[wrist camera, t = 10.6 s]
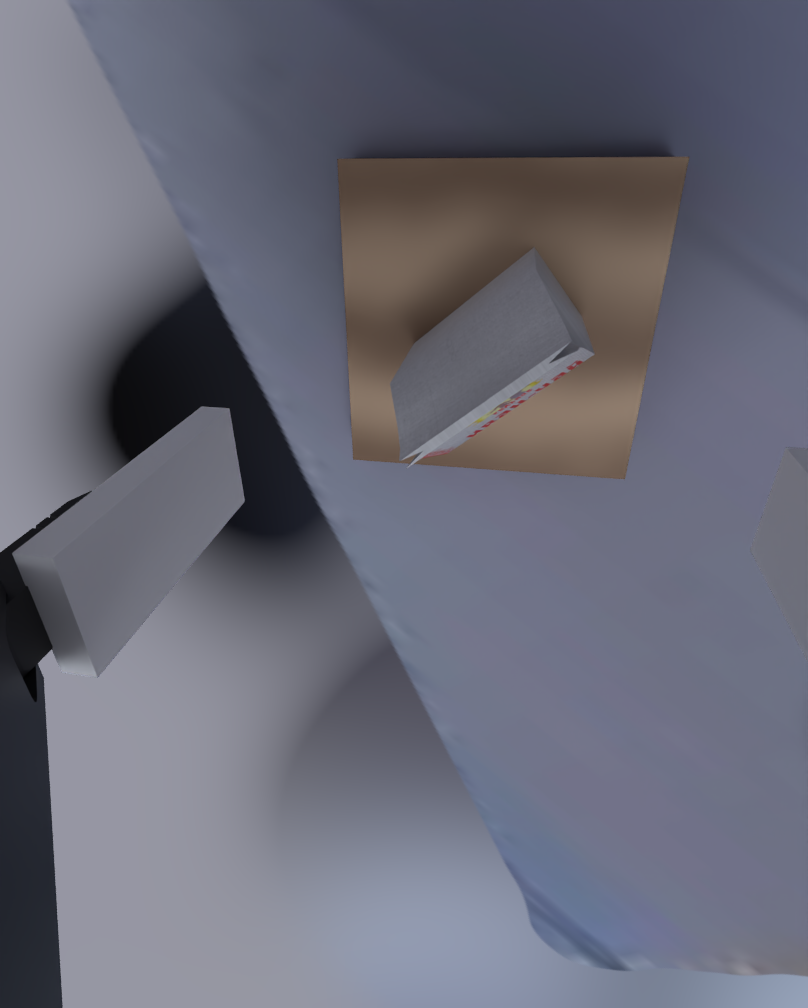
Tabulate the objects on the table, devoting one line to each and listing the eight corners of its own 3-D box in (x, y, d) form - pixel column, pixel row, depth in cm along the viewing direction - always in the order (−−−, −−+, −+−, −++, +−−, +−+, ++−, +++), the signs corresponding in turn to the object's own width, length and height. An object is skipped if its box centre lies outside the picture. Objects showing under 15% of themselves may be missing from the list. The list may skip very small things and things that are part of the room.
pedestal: (354, 158, 28) (337, 158, 25) (673, 156, 26) (689, 156, 23) (366, 437, 35) (353, 459, 32) (617, 453, 33) (624, 479, 30)
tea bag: (413, 343, 29) (366, 423, 20) (534, 247, 26) (538, 292, 17) (461, 402, 30) (434, 502, 21) (581, 316, 27) (607, 392, 18)
